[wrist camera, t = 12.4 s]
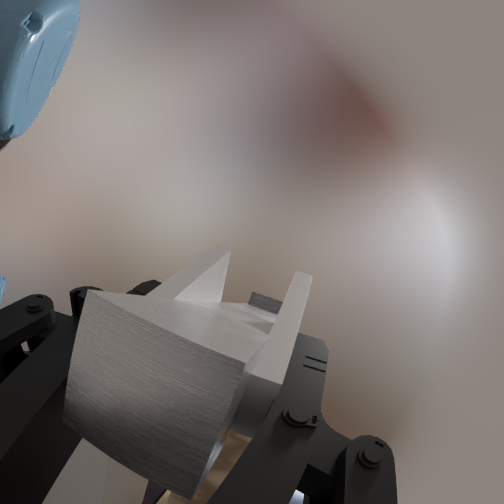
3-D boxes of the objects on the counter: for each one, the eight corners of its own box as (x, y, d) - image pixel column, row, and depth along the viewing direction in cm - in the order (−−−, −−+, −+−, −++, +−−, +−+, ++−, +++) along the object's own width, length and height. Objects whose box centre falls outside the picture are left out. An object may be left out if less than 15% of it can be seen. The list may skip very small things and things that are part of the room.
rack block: (43, 518, 13) (43, 341, 16) (90, 488, 24) (118, 335, 27) (98, 559, 11) (120, 396, 15) (138, 518, 22) (182, 367, 26)
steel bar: (62, 421, 4) (105, 235, 5) (247, 332, 27) (261, 294, 28) (191, 500, 3) (269, 296, 4) (276, 343, 27) (290, 304, 27)
